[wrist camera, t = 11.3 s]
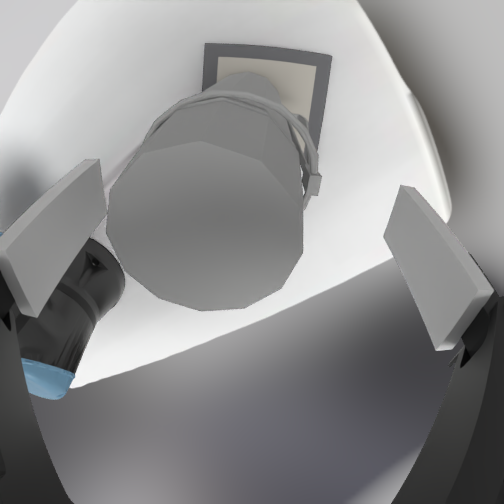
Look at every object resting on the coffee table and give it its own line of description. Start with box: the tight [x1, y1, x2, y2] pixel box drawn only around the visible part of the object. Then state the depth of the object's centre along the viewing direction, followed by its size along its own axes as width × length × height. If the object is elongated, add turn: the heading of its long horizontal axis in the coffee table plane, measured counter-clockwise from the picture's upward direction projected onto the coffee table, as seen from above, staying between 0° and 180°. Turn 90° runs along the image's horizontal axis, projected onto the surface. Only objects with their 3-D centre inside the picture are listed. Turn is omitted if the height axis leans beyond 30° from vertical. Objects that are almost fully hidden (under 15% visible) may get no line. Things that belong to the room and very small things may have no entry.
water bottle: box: [106, 72, 322, 311], centre depth 19 cm, size 9×8×25 cm
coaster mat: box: [202, 43, 332, 159], centre depth 30 cm, size 13×13×1 cm
